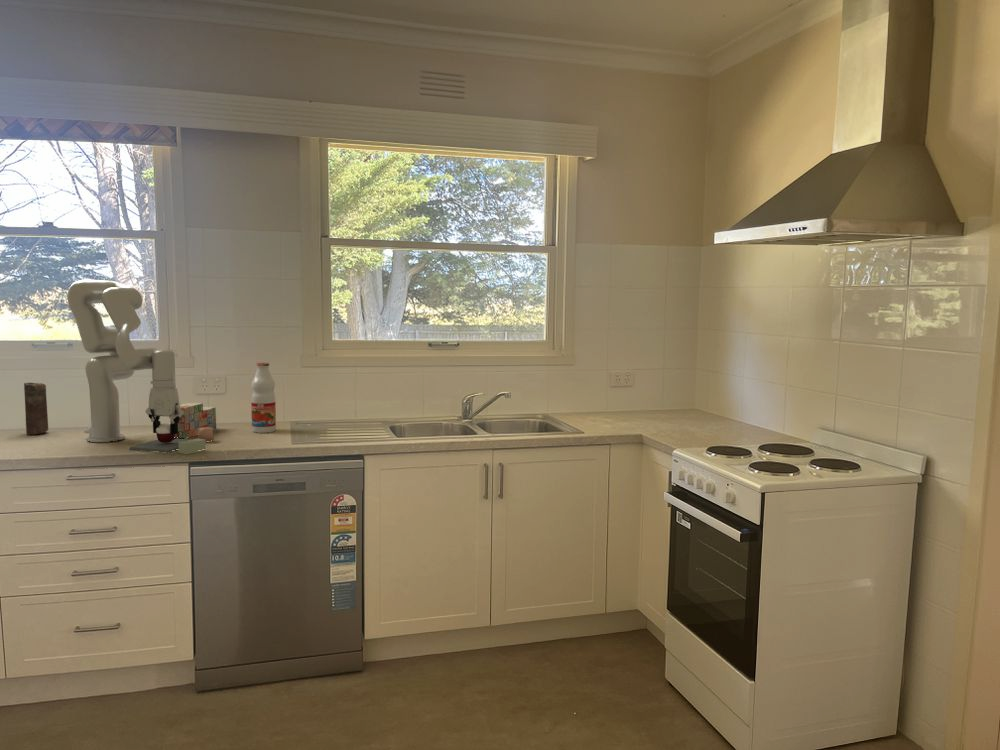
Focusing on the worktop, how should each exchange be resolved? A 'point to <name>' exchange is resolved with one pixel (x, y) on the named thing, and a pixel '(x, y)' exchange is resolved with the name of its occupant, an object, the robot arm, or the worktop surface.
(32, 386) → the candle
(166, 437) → the cocoa
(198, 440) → the green brick
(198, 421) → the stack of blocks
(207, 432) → the terracotta cylinder
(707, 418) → the worktop surface
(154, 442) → the mat
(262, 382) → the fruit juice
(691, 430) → the worktop surface
